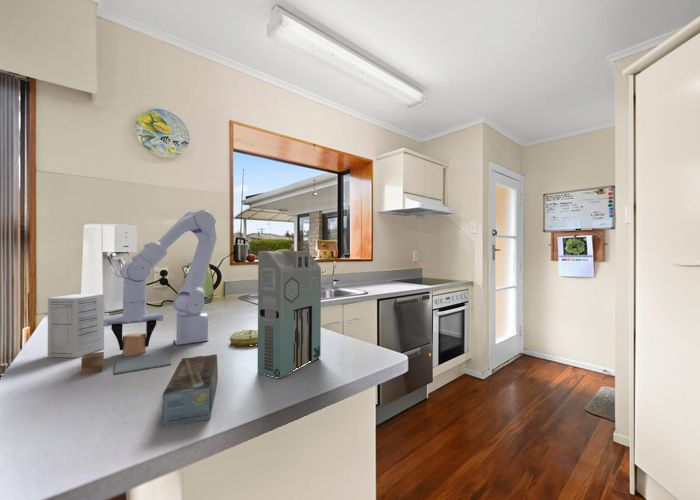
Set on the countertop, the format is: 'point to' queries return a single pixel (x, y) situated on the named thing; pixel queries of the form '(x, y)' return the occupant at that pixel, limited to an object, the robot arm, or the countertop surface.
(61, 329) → the supplement box
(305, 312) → the device
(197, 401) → the beverage carton
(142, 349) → the peach faceted cylinder
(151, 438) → the countertop surface
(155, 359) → the slate mat
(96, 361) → the walnut block
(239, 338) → the decorated donut
